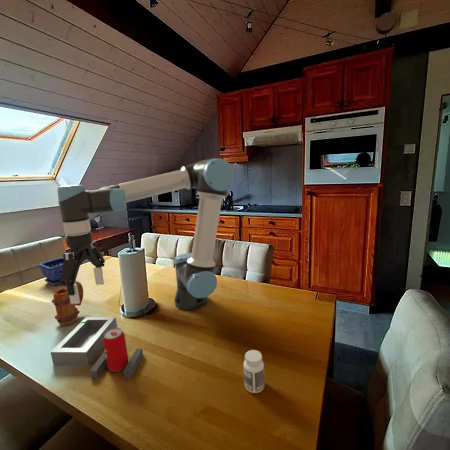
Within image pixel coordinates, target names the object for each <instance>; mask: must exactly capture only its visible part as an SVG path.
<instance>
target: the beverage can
mask: <svg viewBox="0 0 450 450" xmlns="http://www.w3.org/2000/svg"><path fill="white" fill-rule="evenodd" d="M126 342H127V341H126V335H125V332H124V331H123V330H122V328H120V327H117V328H113V329H110V330H108V331H107V332H106V333H105V334H104V338H103V343H104V346H103V349H104V351H105V355H106V360H107V365H106V366H107V369H108V371H111V372H119V371H121V370H124V369H125V367H126V366H127V364H128V362H129V355H128V347H127V343H126Z"/></svg>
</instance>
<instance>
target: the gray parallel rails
mask: <svg viewBox="0 0 450 450" xmlns="http://www.w3.org/2000/svg"><path fill="white" fill-rule="evenodd" d="M143 356H144V351H143V348H141V347H139V348H138V347H137V348H136V349H135V350H134V352H133V354H132V355H131V357H130V359H129V360H128V364H127V366H126V367H125V368H123V371H122V373H123V378H124V379H132V377H133V375H134V373H135V371H136V369H137V367H138V366H139V364H140V361H141V360H142V358H143ZM106 366H107V360H106V355H105V350H104V351H103V353H102V354H101V355H100V357H98V359H97V361H96V362H95V363H94V365H93V366H92V368H91V369H90V370H89V373H90V374H89V375H90V379H98V378H99V377H100V375H101V374H102V372H103V371H104V369H105V368H106Z"/></svg>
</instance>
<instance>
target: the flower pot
mask: <svg viewBox="0 0 450 450" xmlns="http://www.w3.org/2000/svg"><path fill="white" fill-rule="evenodd" d="M63 262H64V260H63V256H62V257H58V258H55V259H50V260H48V261H45V262H42V263H39V268H40V271H41V273H42V275H43V276H44V277H45V279H44V282H46V283H48V284H51V285H52V286H54V287H55V286H59V285H60V282H61V275H62V269H63Z"/></svg>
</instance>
